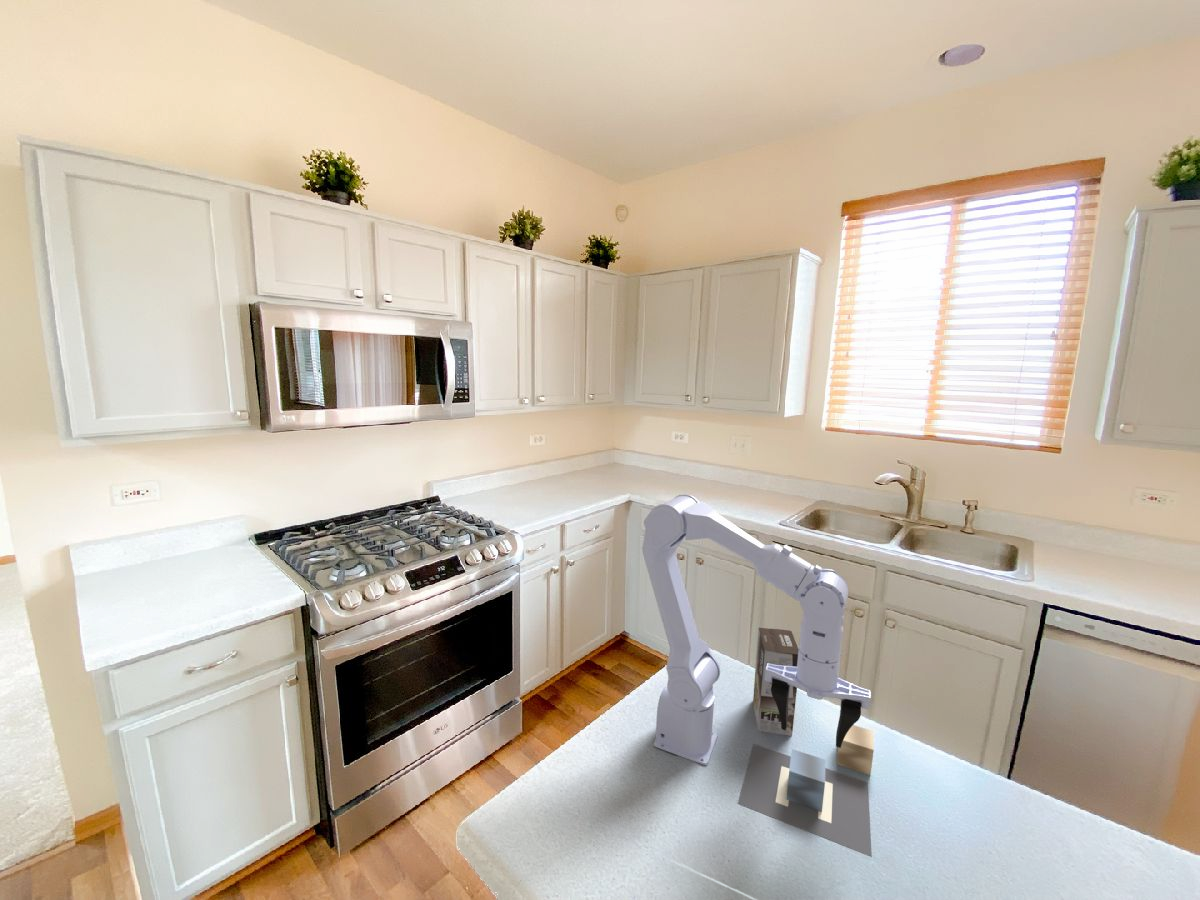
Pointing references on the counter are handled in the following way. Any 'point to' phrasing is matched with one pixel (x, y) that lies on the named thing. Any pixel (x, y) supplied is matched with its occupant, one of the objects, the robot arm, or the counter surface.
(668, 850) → the counter surface
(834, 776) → the letter mat
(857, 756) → the oak block
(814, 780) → the slate blue cube
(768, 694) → the coffee box
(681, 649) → the robot arm
